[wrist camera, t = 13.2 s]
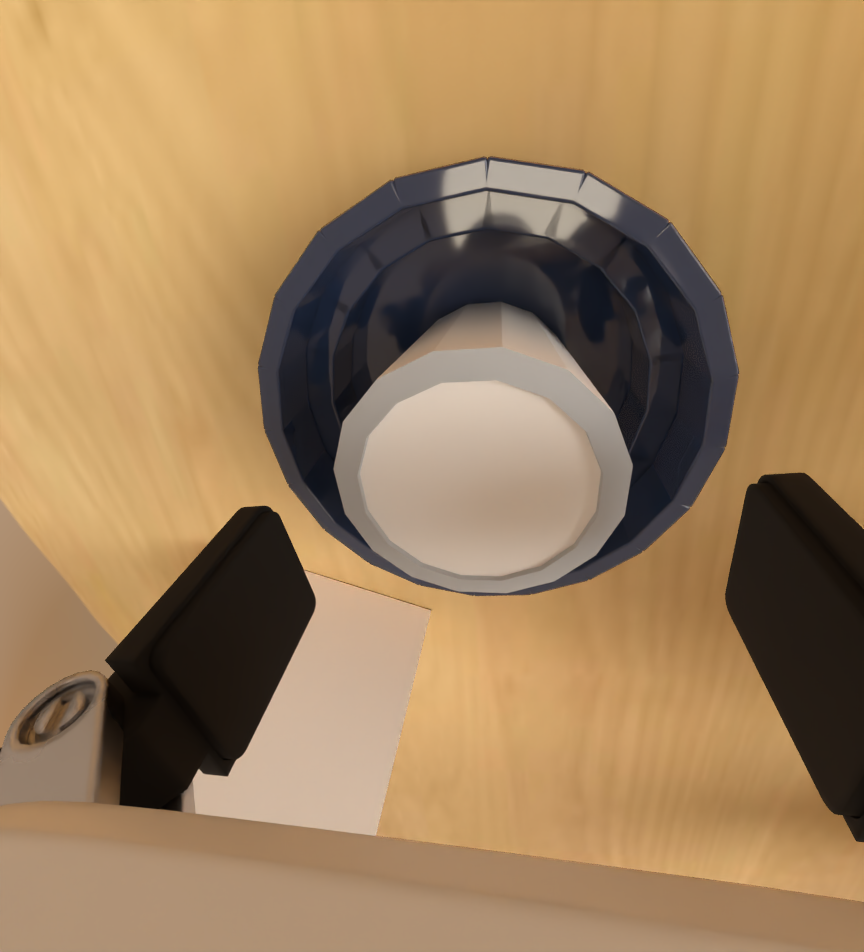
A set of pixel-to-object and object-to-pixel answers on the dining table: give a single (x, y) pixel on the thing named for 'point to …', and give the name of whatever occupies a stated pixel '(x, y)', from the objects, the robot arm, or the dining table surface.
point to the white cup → (484, 456)
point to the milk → (329, 718)
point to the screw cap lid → (518, 284)
